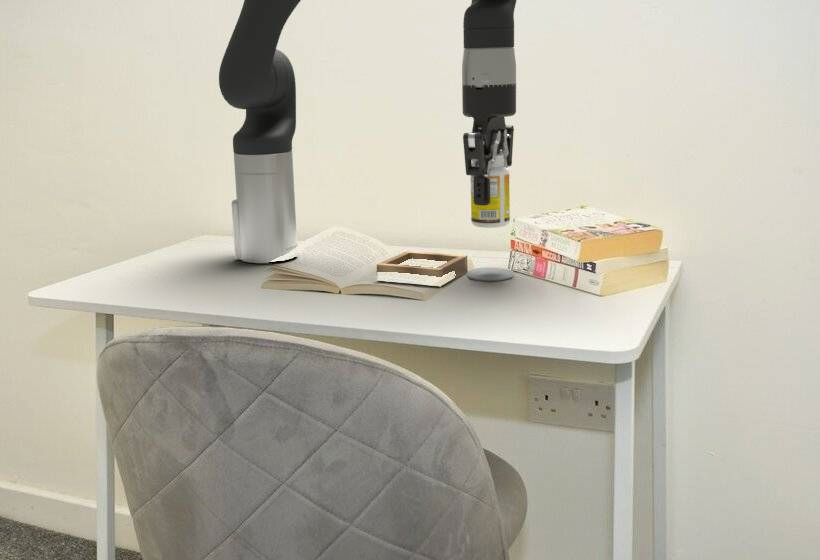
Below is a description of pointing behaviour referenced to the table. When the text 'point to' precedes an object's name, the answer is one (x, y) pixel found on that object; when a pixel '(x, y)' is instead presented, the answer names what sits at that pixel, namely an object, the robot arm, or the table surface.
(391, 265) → the box frame
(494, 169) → the supplement bottle
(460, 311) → the table surface
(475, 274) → the coaster
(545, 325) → the table surface
